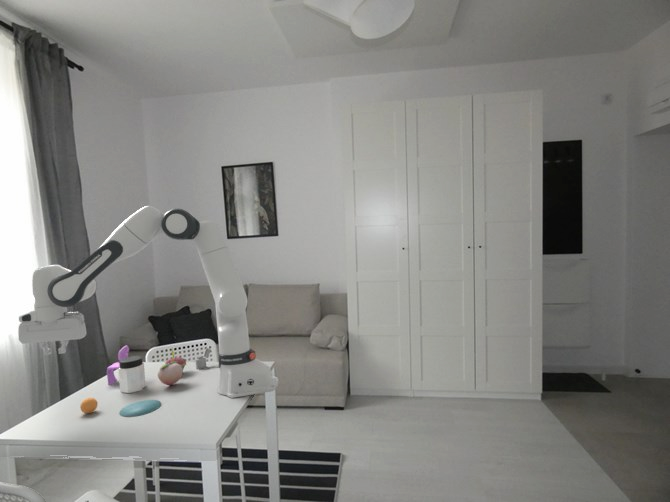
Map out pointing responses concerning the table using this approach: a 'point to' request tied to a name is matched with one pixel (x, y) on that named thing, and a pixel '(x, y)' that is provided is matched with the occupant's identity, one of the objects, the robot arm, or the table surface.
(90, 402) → the ball
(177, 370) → the decorative fruit
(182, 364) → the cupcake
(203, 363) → the lighter
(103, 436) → the table surface
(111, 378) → the toy chair
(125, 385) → the jar
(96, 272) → the robot arm
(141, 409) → the disc
